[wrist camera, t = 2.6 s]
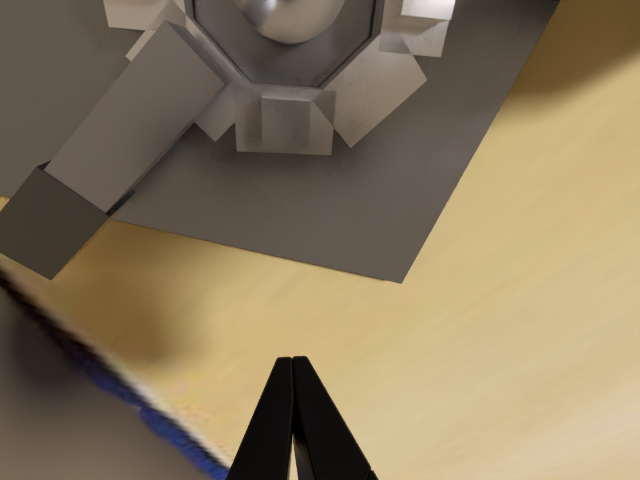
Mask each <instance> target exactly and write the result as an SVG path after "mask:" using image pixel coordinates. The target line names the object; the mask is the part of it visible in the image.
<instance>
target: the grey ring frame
mask: <svg viewBox="0 0 640 480" xmlns="http://www.w3.org/2000/svg"><path fill="white" fill-rule="evenodd" d="M103 2H104V7H105V11H106V16H107V21H108V26H109V27H111V28H116V29H121V30H129V31H140V32H144V33H143V34H142V36H141V37H140V38H139V39H138V41H137V42H136V43H135V44H134V46H133V47H132V48H131V49H130V51H129V52H128V53H127V55H126V57H127V58H128V59H129V60H130V61H131V62H130V64H129V65H128V66H127V67H126V69H125V70H124V71H123V72H122V74H121V75H120V76H119V77H118V79H117V80H116V81H115V82H114V84H113V85H112V86H111V87H110V88H109V90H108V91H107V92H106V93H105V95H104V96H103V97H102V98H101V100H100V101H99V102H98V103H97V105H96V106H95V107H94V108H93V110H92V111H91V112H90V113H89V115H88V116H87V117H86V118H85V119H84V121H83V122H82V123H81V124H80V126H79V127H78V128H77V129H76V131H75V132H74V133H73V134H72V136H71V137H70V138H69V139H68V141H67V142H66V143H65V144H64V146H63V147H62V148H61V149H60V151H59V152H58V153H57V154H56V155H55V157H54V158H53V159H52V160H50V161H48V162H46V163H44V164H41V165H39V166H37V167H36V168H35V169H34V170H33V171H32V173H31V174H30V175H29V176H28V178H27V179H26V180H25V181H24V183H23V184H22V185H21V186H20V188H19V189H18V190H17V191H16V193H15V194H14V195H13V197H12V198H11V199H10V200H9V202H8V203H7V204H6V205H5V207H4V208H3V209H2V210H1V212H0V253H2V254H4V255H6V256H7V257H9V258H11V259H13V260H15V261H17V262H18V263H20V264H22V265H24V266H26V267H27V268H29V269H31V270H33V271H35V272H37V273H38V274H40V275H42V276H44V277H46V278H48V279H49V280H52V279H53V278H54V277H55V276H56V275H57V274H58V273H59V272H60V271H61V270H62V269H63V268H64V267H65V266H66V265H67V264H68V263H69V262H70V261H71V260H72V259H73V258H74V257H75V256H76V255H77V254H78V253H79V252H80V251H81V250H82V249H83V248H85V246H86V245H87V244H88V243H89V242H90V241H91V240H92V239H93V238H94V237H95V236H96V235H97V234H98V233H99V232H100V230H101V229H102V228H103V227H104V226H105V225H106V224H107V223H108V222H109V221H110V220H111V219H112V218H113V217H114V216H115V214H116V213H117V212H118V211H119V210H120V209H121V208H122V207H123V206H124V205H125V204H126V203H127V202H128V201H129V200H130V198H131V197H132V196H133V195H134V194H135V193H136V191H134V190H133V188H134V187H135V185H136V184H137V183H138V182H139V181H140V180H141V179H142V178H143V177H144V176H145V175H146V174H147V173H148V171H149V170H150V169H151V168H152V167H153V166H154V165H155V164H156V163H157V162H158V161H159V160H160V159H161V157H162V156H163V155H164V154H165V153H166V152H167V151H168V150H169V149H170V148H171V147H172V146H173V145H174V143H175V142H176V141H177V140H178V139H179V138H180V137H181V136H182V135H183V134H184V133H185V132H186V131H187V129H188V128H189V127H190V126H191V125H192V124H193V123H194V122H195V123H196V124H197V125H198V126H199V127H200V128H201V129H202V130H204V131H205V132H206V133H207V134H208V135H209V136H210V137H211V138H212V139H213V140H214V141H215V142H216V141H217V140H218V139H219V138H220V137H221V136H222V135H223V134H224V133H225V132H226V131H227V130H228V128H229V127H230V126H231V125H232V124H233V123H234V122H235V129H236V147H237V151H243V152H267V153H291V154H314V155H331V150H332V139H333V128H334V129H335V130H336V131H337V132H338V134H339V135H340V136H341V137H342V138H343V140H344V141H345V142H346V143H347V144H348V146H349V147H350V148H351V147H352V146H354V145H355V144H356V143H357V142H358V141H359V140H360V139H361V138H363V137H364V136H365V135H366V134H367V133H368V132H369V131H371V130H372V129H373V128H374V127H375V126H376V125H377V124H378V123H380V122H381V121H382V120H383V119H384V118H385V117H386V116H387V115H389V114H390V113H391V112H392V111H393V110H394V109H395V108H397V107H398V106H399V105H400V104H401V103H402V102H403V101H404V100H406V99H407V98H408V97H409V96H410V95H411V94H412V93H414V92H415V91H416V90H417V89H418V88H419V87H420V86H421V85H423V84H424V83H425V82H426V81H427V79H426V77H425V75H424V73H423V72H422V70H421V68H420V67H419V65H418V63H417V62H416V60H415V58H414V57H413V56H416V57H441V54H442V50H443V45H444V41H445V36H446V32H447V27H448V23H449V20H451V17H452V13H453V8H454V4H455V0H376V6H375V14H374V22H373V29H372V36H371V37H370V38H369V39H368V40H367V41H366V42H365V43H364V44H363V45H362V46H361V47H360V48H359V49H358V50H357V51H356V52H355V53H354V54H353V55H352V56H351V57H350V58H349V59H348V60H347V61H346V62H344V63H343V64H342V65H341V66H340V67H339V68H338V69H337V70H336V71H335V72H334V73H333V74H332V75H331V76H330V77H329V78H328V79H327V80H326V81H325V82H324V83H323V84H322V85H321V86H320V87H305V86H292V85H278V84H264V83H251V82H250V81H249V80H248V79H247V78H246V77H245V76H244V74H243V73H242V72H241V71H240V70H239V69H238V68H237V67H236V65H235V64H234V63H233V62H232V61H231V60H230V59H229V58H228V56H227V55H226V54H225V53H224V52H223V51H222V50H221V49H220V47H219V46H218V45H217V44H216V43H215V42H214V41H213V40H212V38H211V37H210V36H209V35H208V34H207V33H206V32H205V31H204V29H203V28H202V27H201V26H200V25H199V24H198V23H197V22H196V20H195V19H194V15H193V5H192V0H103Z"/></svg>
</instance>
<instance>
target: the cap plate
mask: <svg viewBox="0 0 640 480" xmlns="http://www.w3.org/2000/svg"><path fill="white" fill-rule="evenodd" d="M559 2H560V0H455V4H454V8H453V13H452V17H451V20H449V23H448V27H447V32H446V36H445V41H444V45H443V50H442V54H441V57H416V56H413V57H414V58H415V60H416V62H417V63H418V65H419V67H420V68H421V70H422V72H423V73H424V75H425V77H426V79H427V81H426V82H425V83H424V84H423V85H421V86H420V87H419V88H418V89H417V90H416V91H415V92H414V93H412V94H411V95H410V96H409V97H408V98H407V99H406V100H404V101H403V102H402V103H401V104H400V105H399V106H398V107H397V108H395V109H394V110H393V111H392V112H391V113H390V114H389V115H387V116H386V117H385V118H384V119H383V120H382V121H381V122H380V123H378V124H377V125H376V126H375V127H374V128H373V129H372V130H371V131H369V132H368V133H367V134H366V135H365V136H364V137H363V138H361V139H360V140H359V141H358V142H357V143H356V144H355V145H354V146H352V147H351V148H350V147H349V146H348V144H347V143H346V142H345V141H344V140H343V138H342V137H341V136H340V135H339V134H338V132H337V131H336V130H335V129H334V128H333V139H332V150H331V155H314V154H291V153H267V152H243V151H237V147H236V129H235V122H234V123H233V124H232V125H231V126H230V127H229V128H228V130H227V131H226V132H225V133H224V134H223V135H222V136H221V137H220V138H219V139H218V140H217V141H216V142H215V141H214V140H213V139H212V138H211V137H210V136H209V135H208V134H207V133H206V132H205V131H204V130H202V129H201V128H200V127H199V126H198V125H197V124H196V123H195V122H194V123H193V124H192V125H191V126H190V127H189V128H188V129H187V131H186V132H185V133H184V134H183V135H182V136H181V137H180V138H179V139H178V140H177V141H176V142H175V143H174V145H173V146H172V147H171V148H170V149H169V150H168V151H167V152H166V153H165V154H164V155H163V156H162V157H161V159H160V160H159V161H158V162H157V163H156V164H155V165H154V166H153V167H152V168H151V169H150V170H149V171H148V173H147V174H146V175H145V176H144V177H143V178H142V179H141V180H140V181H139V182H138V183H137V184H136V185H135V187H134V188H133V190H134V191H136V193H135V194H134V195H133V196H132V197H131V198H130V200H129V201H128V202H127V203H126V204H125V205H124V206H123V207H122V208H121V209H120V210H119V211H118V212H117V213H116V214H115V216H114V217H113V218H112V220H117V221H121V222H126V223H130V224H135V225H139V226H144V227H148V228H153V229H157V230H162V231H166V232H171V233H175V234H180V235H184V236H189V237H193V238H198V239H202V240H207V241H211V242H216V243H220V244H225V245H229V246H234V247H238V248H243V249H247V250H252V251H257V252H261V253H266V254H270V255H275V256H279V257H284V258H288V259H293V260H297V261H302V262H306V263H311V264H315V265H320V266H324V267H329V268H333V269H338V270H342V271H347V272H351V273H356V274H360V275H365V276H369V277H374V278H378V279H383V280H387V281H392V282H396V283H401V284H402V282H403V280H404V278H405V276H406V275H407V273H408V271H409V269H410V268H411V266H412V264H413V262H414V260H415V259H416V257H417V255H418V253H419V251H420V250H421V248H422V246H423V244H424V243H425V241H426V239H427V237H428V235H429V234H430V232H431V230H432V228H433V227H434V225H435V223H436V221H437V219H438V218H439V216H440V214H441V212H442V210H443V209H444V207H445V205H446V203H447V202H448V200H449V198H450V196H451V194H452V193H453V191H454V189H455V187H456V186H457V184H458V182H459V180H460V178H461V177H462V175H463V173H464V171H465V169H466V168H467V166H468V164H469V162H470V161H471V159H472V157H473V155H474V153H475V152H476V150H477V148H478V146H479V145H480V143H481V141H482V139H483V137H484V136H485V134H486V132H487V130H488V128H489V127H490V125H491V123H492V121H493V120H494V118H495V116H496V114H497V112H498V111H499V109H500V107H501V105H502V104H503V102H504V100H505V98H506V96H507V95H508V93H509V91H510V89H511V87H512V86H513V84H514V82H515V80H516V79H517V77H518V75H519V73H520V71H521V70H522V68H523V66H524V64H525V63H526V61H527V59H528V57H529V55H530V54H531V52H532V50H533V48H534V46H535V45H536V43H537V41H538V39H539V38H540V36H541V34H542V32H543V30H544V29H545V27H546V25H547V23H548V22H549V20H550V18H551V16H552V14H553V13H554V11H555V9H556V7H557V5H558V4H559ZM192 5H193V15H194V19H195V20H196V22H197V23H198V24H199V25H200V26H201V27H202V28H203V29H204V31H205V32H206V33H207V34H208V35H209V36H210V37H211V38H212V40H213V41H214V42H215V43H216V44H217V45H218V46H219V47H220V49H221V50H222V51H223V52H224V53H225V54H226V55H227V56H228V58H229V59H230V60H231V61H232V62H233V63H234V64H235V65H236V67H237V68H238V69H239V70H240V71H241V72H242V73H243V74H244V76H245V77H246V78H247V79H248V80H249V81H250V82H251V83H264V84H278V85H292V86H305V87H320V86H321V85H322V84H323V83H324V82H325V81H326V80H327V79H328V78H329V77H330V76H331V75H332V74H333V73H334V72H335V71H336V70H337V69H338V68H339V67H340V66H341V65H342V64H343V63H344V62H346V61H347V60H348V59H349V58H350V57H351V56H352V55H353V54H354V53H355V52H356V51H357V50H358V49H359V48H360V47H361V46H362V45H363V44H364V43H365V42H366V41H367V40H368V39H369V38H370V37H371V36H372V29H373V22H374V14H375V6H376V0H192ZM143 33H144V32H140V31H129V30H121V29H116V28H111V27H109V26H108V21H107V16H106V11H105V7H104V2H103V0H0V195H4V196H9V197H13V195H14V194H15V193H16V191H17V190H18V189H19V188H20V186H21V185H22V184H23V183H24V181H25V180H26V179H27V178H28V176H29V175H30V174H31V173H32V171H33V170H34V169H35V168H36V167H37V166H39V165H41V164H44V163H46V162H48V161H50V160H52V159H53V158H54V157H55V155H56V154H57V153H58V152H59V151H60V149H61V148H62V147H63V146H64V144H65V143H66V142H67V141H68V139H69V138H70V137H71V136H72V134H73V133H74V132H75V131H76V129H77V128H78V127H79V126H80V124H81V123H82V122H83V121H84V119H85V118H86V117H87V116H88V115H89V113H90V112H91V111H92V110H93V108H94V107H95V106H96V105H97V103H98V102H99V101H100V100H101V98H102V97H103V96H104V95H105V93H106V92H107V91H108V90H109V88H110V87H111V86H112V85H113V84H114V82H115V81H116V80H117V79H118V77H119V76H120V75H121V74H122V72H123V71H124V70H125V69H126V67H127V66H128V65H129V64H130V62H131V61H130V60H129V59H128V58H127V57H126V55H127V53H128V52H129V51H130V49H131V48H132V47H133V46H134V44H135V43H136V42H137V41H138V39H139V38H140V37H141V36H142V34H143Z"/></svg>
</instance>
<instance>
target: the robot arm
mask: <svg viewBox="0 0 640 480" xmlns="http://www.w3.org/2000/svg"><path fill="white" fill-rule="evenodd" d="M292 436H293V444H294V452H295V459H296V466H297V473H298V480H379V479H378V478H377V476H376V474H375V473H374V471H373V470H371V466H370V464H369V463H368V461H367V459H366V457H365V456H364V454H363V452H362V451H361V449H360V447H359V445H358V444H357V442H356V440H355V438H354V437H353V435H352V433H351V432H350V430H349V428H348V426H347V425H346V423H345V421H344V420H343V418H342V416H341V414H340V413H339V411H338V409H337V407H336V406H335V404H334V402H333V401H332V399H331V397H330V395H329V394H328V392H327V390H326V389H325V387H324V385H323V383H322V382H321V380H320V378H319V376H318V375H317V373H316V371H315V370H314V368H313V366H312V364H311V363H310V361H309V359H308V358H307V357H306V356H294V357H293V358H291V357H278V358H277V359H276V362H275V364H274V366H273V369H272V371H271V373H270V376H269V378H268V380H267V383H266V385H265V388H264V390H263V392H262V395H261V397H260V399H259V402H258V404H257V407H256V409H255V411H254V414H253V416H252V418H251V421H250V423H249V425H248V428H247V430H246V433H245V435H244V437H243V440H242V442H241V444H240V447H239V449H238V452H237V454H236V456H235V459H234V461H233V463H232V466H231V468H230V470H229V473H228V475H227V478H226V480H289V477H290V465H291V453H292Z"/></svg>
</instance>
